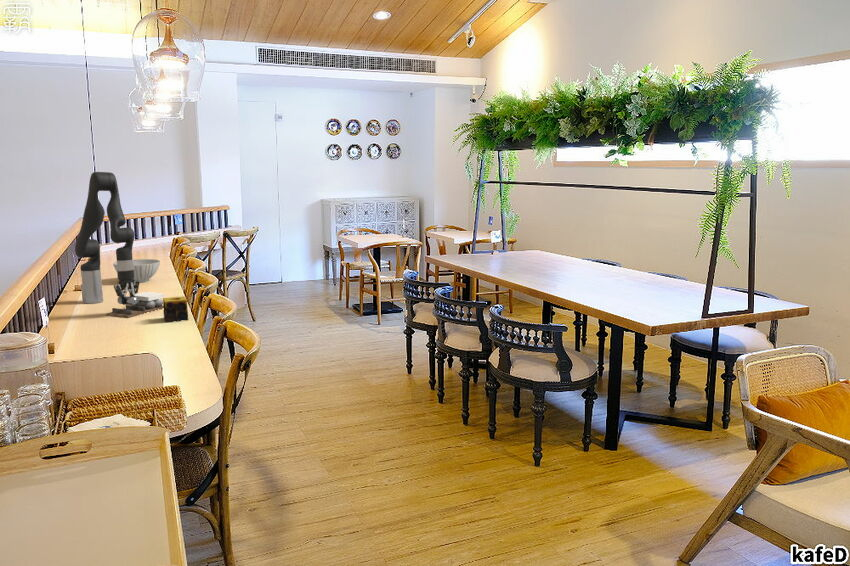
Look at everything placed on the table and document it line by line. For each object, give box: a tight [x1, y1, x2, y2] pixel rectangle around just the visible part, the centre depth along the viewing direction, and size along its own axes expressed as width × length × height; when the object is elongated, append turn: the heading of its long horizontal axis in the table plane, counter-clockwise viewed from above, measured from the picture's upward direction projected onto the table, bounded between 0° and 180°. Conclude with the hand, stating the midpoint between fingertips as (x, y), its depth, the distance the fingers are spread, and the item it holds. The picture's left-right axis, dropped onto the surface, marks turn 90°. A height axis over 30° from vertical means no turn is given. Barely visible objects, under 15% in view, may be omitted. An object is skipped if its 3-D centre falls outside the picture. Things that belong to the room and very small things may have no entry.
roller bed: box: [106, 298, 164, 319], centre depth 323 cm, size 14×24×5 cm, turn 156°
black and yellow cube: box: [162, 296, 189, 323], centre depth 306 cm, size 10×10×10 cm
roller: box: [117, 295, 139, 306], centre depth 318 cm, size 10×4×4 cm, turn 67°
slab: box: [134, 291, 165, 301], centre depth 328 cm, size 12×10×2 cm
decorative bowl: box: [112, 258, 161, 284], centre depth 407 cm, size 27×27×12 cm
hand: (128, 303), depth 318 cm, fingers closed on roller, 4 cm apart
